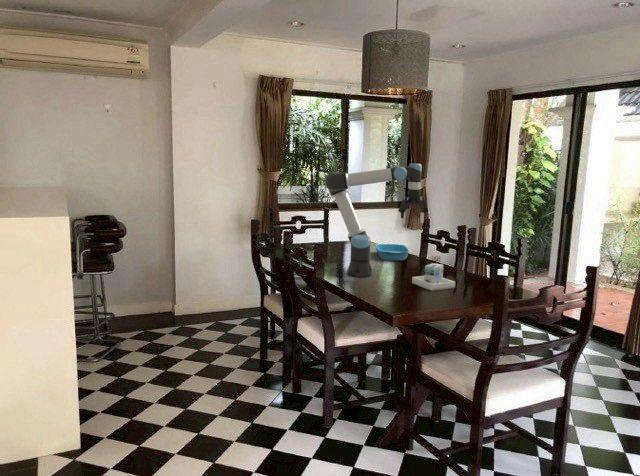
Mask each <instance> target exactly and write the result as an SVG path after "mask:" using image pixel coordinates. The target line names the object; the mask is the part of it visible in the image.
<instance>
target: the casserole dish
mask: <svg viewBox="0 0 640 476" xmlns="http://www.w3.org/2000/svg"><path fill="white" fill-rule="evenodd" d="M375 249H376V252H377V255H378V256H379V258H380V259H381V260H383V261H405V260H406V259H407V258H408V256H409V253H410V250H409V249H408V247H407V246H406V245H404V244H397V243H380V244H379V243H377V244H375Z"/></svg>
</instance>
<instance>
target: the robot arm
mask: <svg viewBox="0 0 640 476" xmlns="http://www.w3.org/2000/svg"><path fill="white" fill-rule="evenodd" d="M422 166H423V165H422V164H421V163H409V165H408V166H396V165H393V166H390V167H389V168H382V169H374V170H366V171H361V172H359V171H358V172H352V173H348V172H340V171H337V170H336V171H332V172H329V174H327V175H326V177H325V179H324V185H325V187H326V189H327V190H328V192H329V194H330V196H331V197H332V198H334V200H335V203H336V205H337V208H338V209H339V210H338V211H339V212H340V215H341V217H342V219H343V223H344V224H345V227H346V230H347V231H348V235H347V238H348V240H349V241H348V242H349V243H350V261H349V264H348V267H347V271H346V274H347V275H348V276H350V277H354V278H355V277H356V278H365V277H366V278H367V277H371V276H372V275H373V270H372V268H371V267H372V266H371V263H370V261H371V258H370V257H371V237H370V236H368V234H367V232H366V229H364V228H362V226H361V223H360V221H359V218H358V215H357V213H356V211H355V207H354V206H353V204H352V200H351V198H350V196H349V194H348V192H349V188H350V187H356V186H357V187H358V186H363V185H370V184H371V185H372V184H377V183H385V182H394V181H404V180H408V185H407V188H408V190H407V196H403V198H402V202H401V203H400V205H399V208H398V210H397V211H398V213H400V219H401V222H400V223H401V224H403V225H405V224H406V213H405V212H406V211H407V210H408V208H409V207H410V206H411V205H417V207H418V208H419V210H420V214H419V218H420V219H419V223H421V224H424V219H425V216H426V213H428V211H429V209H428V207H427V204H426V201H425V196H421V186H422V171H423V169H422V168H423V167H422Z"/></svg>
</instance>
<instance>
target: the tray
mask: <svg viewBox="0 0 640 476" xmlns="http://www.w3.org/2000/svg"><path fill="white" fill-rule="evenodd" d="M424 277H425V275H419V276H412V278H411V283H412V284H414V285H416V286H418V287H422V288H424V289H426V290H429V291H431V292H432V291H433V292H435V291H440V290H441V291H442V290H451V289H456V281H455V280H450V279H448V278H445V277H443V280H442V283H437V284H431V283H429V282H426V281H424Z"/></svg>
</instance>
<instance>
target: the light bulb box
mask: <svg viewBox="0 0 640 476" xmlns="http://www.w3.org/2000/svg"><path fill="white" fill-rule="evenodd" d="M424 276H425V277H424V281H426V282H429V283H431V284H437V283H442V280H443V278H444V264H439V263H435V262H432V263H430V264H429V263H428V264H426V265H425V266H424Z"/></svg>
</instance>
